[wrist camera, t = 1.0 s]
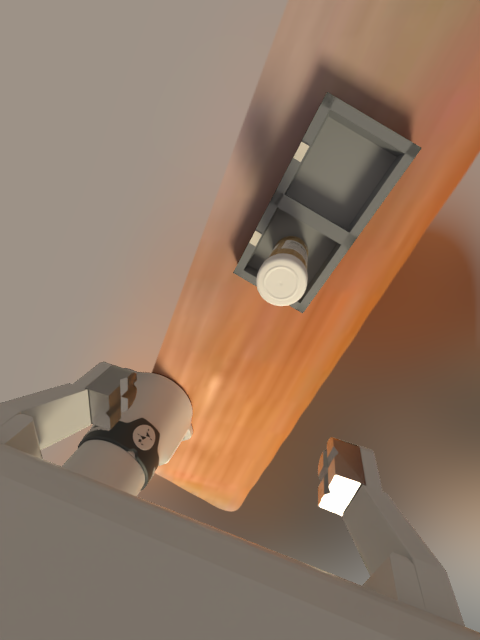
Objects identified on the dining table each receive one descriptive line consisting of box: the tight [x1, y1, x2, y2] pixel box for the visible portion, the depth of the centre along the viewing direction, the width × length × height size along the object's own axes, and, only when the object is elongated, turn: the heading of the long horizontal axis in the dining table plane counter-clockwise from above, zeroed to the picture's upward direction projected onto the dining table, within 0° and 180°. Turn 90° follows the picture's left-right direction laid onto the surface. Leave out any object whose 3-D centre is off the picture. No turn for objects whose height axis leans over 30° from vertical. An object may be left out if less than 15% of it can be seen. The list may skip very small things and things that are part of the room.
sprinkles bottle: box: [256, 236, 308, 306], centre depth 30 cm, size 5×5×13 cm
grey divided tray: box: [233, 92, 421, 313], centre depth 33 cm, size 20×10×4 cm, turn 153°
